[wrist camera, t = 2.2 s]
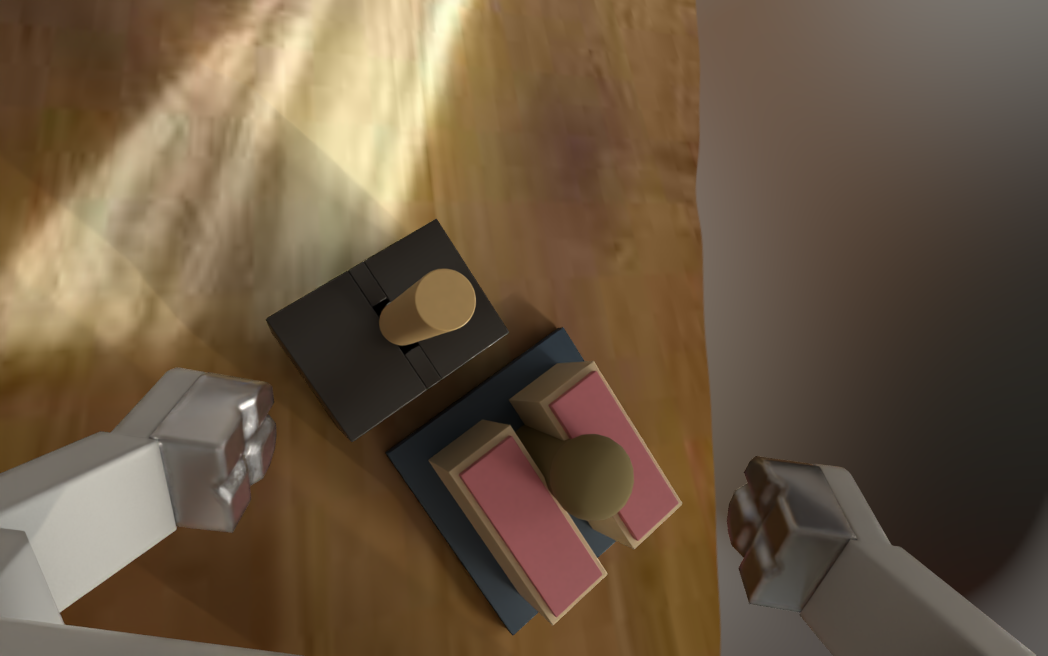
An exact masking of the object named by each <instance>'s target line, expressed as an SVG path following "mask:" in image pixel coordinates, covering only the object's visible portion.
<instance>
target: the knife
mask: <svg viewBox="0 0 1048 656" xmlns="http://www.w3.org/2000/svg"><path fill="white" fill-rule="evenodd" d="M475 306H476V296H475V292H474V289H473V287H472V285H471V283H470V282H469V280H468V279H467V278H466V277H465V276H463V275H462V274H461V273H459V272H457V271H455V270H451V269H437V270H433V271H431V272H429V273H428V274H426V275H425V276H423V277H422V278H421V279H420V280H418V281H417V282H416V283H415V284H413V285H412V286H411V287H410V288H408V289H407V290H406V291H405V292H403V293H402V294H401V295H400V296H398V297H397V298H396V299H395V300H393V301H392V302H390V303H388V304H387V305H385V306H384V307H383V308H382V309H381V310H379V311H378V312H377V315H378V316H379V318H380V319H379V326H380V330H381V333H382V334H383V336H384V337H385V338H386V339H387V340H388V341H389V342H391V343H393V344H396V345H398V346H399V348H401V347H404V346H407V345H410V344H413V343H415V342H418V341H421V340H424V339H427V338H431V337H434V336H437V335H440V334H443V333H446V332H450V331H453V330H456V329H458V328H460V327H462V326H464V325H465V324H466V323H467V322H468V321H469V320H470V318H471V317H472V315H473V313H474V310H475Z"/></svg>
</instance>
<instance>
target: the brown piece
mask: <svg viewBox="0 0 1048 656" xmlns="http://www.w3.org/2000/svg"><path fill="white" fill-rule="evenodd" d="M515 433H516V435H517V436H518V438H519V439H520V441H521V442H522V444H523V445H524V447H525V449H526V450H527V452H528V453H529V455H530V456H531V458H532V459H533V461H534V462H535V464H536V465H537V467H538V468H539V470H540V471H541V473H542V474H543V476H544V478H545V481H546V484H547V487H548V490H549V491H550V492H551V494H552V495H553V496H554V497H555V498H556V500H557V501H558V502H559V504H560V505H561V506H562V508H563V509H564V510H565V511H567V512H568V513H570V514H571V515H573V516H574V517H576V518H578V519H583V520H587V521H597V520H605V519H607V518H609V517H611V516H613V515H615V514H617V513H618V512H619V511H620V510H621V509H622V508H623V507H624V506H625V504H626V503H627V501H628V499H629V497H630V495H631V493H632V489H633V484H634V473H633V466H632V463H631V460H630V457H629V456H628V454H627V453H626V451H625V450H624V449H623V447H622V446H620V445H619V444H618V443H616V442H615V441H614V440H612V439H611V438H609V437H606V436H602V435H599V434H584V435H580V436H578V437H575V438H573V439H567V440H565V441H563V440H561V439H558V438H556V437H553V436H551V435H548V434H546V433H543V432H541V431H539V430H536V429H534V428H531V427H529V426H526V425H523V426H521V427H520V428H519V429H518V430H517V431H516V432H515Z"/></svg>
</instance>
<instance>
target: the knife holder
mask: <svg viewBox="0 0 1048 656" xmlns="http://www.w3.org/2000/svg"><path fill="white" fill-rule="evenodd" d="M437 269H451V270H455V271H457V272H459V273H461V274H462V275H463V276H465V277H466V278H467V279H468V280H469V282H470V283H471V285H472V287H473V289H474V292H475V296H476V306H475V310H474V313H473V315H472V317H471V318H470V320H469V321H468V322H467V323H466V324H465V325H464V326H462V327H460V328H458V329H456V330H453V331H450V332H446V333H443V334H440V335H437V336H434V337H431V338H427V339H424V340H421V341H418V342H415V343H413V344H410V345H407V346H404V347H401V348H399V346H398V345H396V344H393V343H391V342H389V341H388V340H387V339H386V338H385V337H384V336H383V334H382V333H381V330H380V326H379V319H380V318H379V316H378V315H377V312H378V311H379V310H381V309H382V308H383V307H384V306H385V305H387V304H388V303H390V302H392V301H393V300H395V299H396V298H397V297H398V296H400V295H401V294H402V293H403V292H405V291H406V290H407V289H408V288H410V287H411V286H412V285H413V284H415V283H416V282H417V281H418V280H420V279H421V278H422V277H423V276H425V275H426V274H428V273H429V272H431V271H433V270H437ZM266 321H267V323H268V326H269V328H270V330H271V333H272V334H273V335H274V337H275V338H276V340H277V341H278V343H279V344H280V345H281V347H282V348H283V350H284V351H285V353H286V354H287V355H288V357H289V358H290V360H291V361H292V363H293V364H294V365H295V367H296V368H297V370H298V371H299V373H300V374H301V375H302V377H303V378H304V380H305V381H306V383H307V384H308V385H309V387H310V388H311V390H312V391H313V393H314V394H315V395H316V397H317V398H318V400H319V401H320V403H321V404H322V405H323V407H324V408H325V410H326V411H327V413H328V414H329V415H330V417H331V418H332V420H333V421H334V423H335V424H336V425H337V427H338V428H339V430H340V431H341V432H342V433H343V434H344V435H345V436H346V437H347V438H348V439H349V440H350V441H351V442H353V441H355V440H356V439H358V438H359V437H361V436H362V435H363V434H365V433H366V432H368V431H369V430H371V429H372V428H373V427H375V426H376V425H378V424H379V423H381V422H382V421H383V420H385V419H386V418H388V417H389V416H391V415H392V414H393V413H395V412H396V411H398V410H399V409H401V408H402V407H403V406H405V405H406V404H408V403H409V402H411V401H412V400H413V399H415V398H416V397H418V396H419V395H421V394H422V393H423V392H425V391H426V390H427V389H429V388H431V387H432V386H434V385H435V384H436V383H438V382H439V381H441V379H444V378H445V377H446V376H448V375H449V374H451V373H452V372H454V371H455V370H456V369H458V368H459V367H461V366H462V365H464V364H465V363H466V362H468V361H469V360H471V359H472V358H474V357H475V356H476V355H478V354H479V353H481V352H482V351H484V350H485V349H486V348H488V347H489V346H491V345H492V344H494V343H495V342H496V341H498V340H499V339H501V338H502V337H504V336H505V335H506V334H508V333H509V331H508V329H507V328H506V326H505V325H504V323H503V322H502V320H501V319H500V317H499V315H498V314H497V312H496V311H495V309H494V308H493V306H492V304H491V303H490V301H489V300H488V298H487V297H486V295H485V294H484V292H483V290H482V289H481V287H480V286H479V284H478V283H477V281H476V279H475V278H474V276H473V275H472V273H471V272H470V270H469V269H468V267H467V265H466V264H465V262H464V261H463V259H462V258H461V256H460V254H459V253H458V251H457V250H456V248H455V247H454V245H453V243H452V242H451V240H450V239H449V237H448V236H447V234H446V233H445V231H444V229H443V228H442V226H441V225H440V223H439V222H438V220H437V219H435V220H433V221H431V222H430V223H428V224H426V225H425V226H423V227H421V228H419V229H418V230H416V231H414V232H413V233H411V234H409V235H407V236H406V237H404V238H402V239H401V240H399V241H397V242H396V243H394V244H392V245H390V246H389V247H387V248H385V249H384V250H382V251H380V252H378V253H377V254H375V255H373V256H372V257H370V258H368V259H367V260H365V261H364V262H361V263H360V264H358V265H356V266H355V267H353V268H351V269H350V270H349V271H346V272H344V273H343V274H341V275H339V276H338V277H336V278H334V279H333V280H331V281H329V282H327V283H326V284H324V285H322V286H321V287H319V288H317V289H316V290H314V291H312V292H310V293H309V294H307V295H305V296H304V297H302V298H300V299H298V300H297V301H295V302H293V303H292V304H290V305H288V306H287V307H285V308H283V309H281V310H280V311H278V312H276V313H275V314H273V315H271V316H270V317H268V318H267V319H266Z"/></svg>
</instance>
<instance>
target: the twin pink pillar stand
mask: <svg viewBox="0 0 1048 656" xmlns="http://www.w3.org/2000/svg"><path fill="white" fill-rule="evenodd" d="M523 425H526V426H529V427H531V428H534V429H536V430H539V431H541V432H543V433H546V434H548V435H551V436H553V437H556V438H558V439H561V440H563V441H565V440H567V439H573V438H575V437H578V436H580V435H584V434H599V435H602V436H606V437H609V438H611V439H612V440H614V441H615V442H616V443H618V444H619V445H620V446H622V447H623V449H624V450H625V451H626V453H627V454H628V456H629V457H630V460H631V463H632V466H633V473H634V484H633V489H632V493H631V495H630V497H629V499H628V501H627V503H626V504H625V506H624V507H623V508H622V509H621V510H620V511H619V512H618V513H617V514H615V515H613V516H611V517H609V518H607V519H605V520H597V521H587V520H583V519H578V518H576V517H574V516H573V515H571V514H570V513H568V512H567V511H565V510H564V509H563V508H562V506H561V505H560V504H559V502H558V501H557V500H556V498H555V497H554V496H553V495H552V494H551V492H550V491H549V490H548V487H547V484H546V481H545V478H544V476H543V474H542V473H541V471H540V470H539V468H538V467H537V465H536V464H535V462H534V461H533V459H532V458H531V456H530V455H529V453H528V452H527V450H526V449H525V447H524V445H523V444H522V442H521V441H520V439H519V438H518V436H517V435H516V433H515V432H516V431H517V430H518V429H519V428H520V427H521V426H523ZM386 455H387V456H388V457H389V459H390V460H391V462H392V463H393V465H394V466H395V468H396V469H397V470H398V472H399V473H400V475H401V476H402V478H403V479H404V481H405V482H406V483H407V485H408V486H409V488H410V489H411V491H412V492H413V494H414V495H415V496H416V498H417V499H418V501H419V502H420V504H421V505H422V507H423V508H424V509H425V511H426V512H427V514H428V515H429V517H430V518H431V520H432V521H433V522H434V524H435V525H436V527H437V528H438V530H439V531H440V533H441V534H442V535H443V537H444V538H445V540H446V541H447V543H448V544H449V546H450V547H451V548H452V550H453V551H454V553H455V554H456V556H457V557H458V559H459V560H460V561H461V563H462V564H463V566H464V567H465V569H466V570H467V572H468V573H469V574H470V576H471V577H472V579H473V580H474V582H475V583H476V585H477V586H478V587H479V589H480V590H481V592H482V593H483V595H484V596H485V598H486V599H487V600H488V602H489V603H490V605H491V606H492V608H493V609H494V611H495V612H496V613H497V615H498V616H499V618H500V619H501V621H502V622H503V624H504V625H505V626H506V628H507V629H508V631H509V632H510V633H511V634H512V635H514V634H515V633H516V632H518V631H519V630H520V629H521V628H522V627H523V626H524V625H525V624H526V623H527V622H528V621H529V620H531V619H532V618H533V617H534V616H535V615H536V614H537V613H538V612H539V613H540V614H541V615H542V616H543V617H544V618H545V619H546V620H547V621H548V622H550V623H551V624H552V625H554V624H555V623H556V622H557V621H558V620H559V619H560V618H561V617H562V616H563V615H565V614H566V613H567V612H568V611H569V610H570V609H571V608H572V607H573V606H574V605H575V604H576V603H577V602H578V601H579V600H580V599H582V598H583V597H584V596H585V595H586V594H587V593H588V592H589V591H590V590H591V589H592V588H593V587H594V586H595V585H596V584H598V583H599V582H600V581H601V580H602V579H603V578H604V577H605V576H606V575H607V572H606V571H605V569H604V568H603V566H602V565H601V563H600V562H599V560H598V557H599V556H600V555H601V554H602V553H603V552H605V551H606V550H607V549H608V548H609V547H610V546H611V545H612V544H613V543H614V542H615V541H618V542H620V543H622V544H624V545H626V546H628V547H630V548H632V549H635V548H636V547H637V546H638V545H639V544H640V543H641V542H642V541H644V540H645V539H646V538H647V537H648V536H649V535H650V534H651V533H652V532H653V531H654V530H655V529H656V528H657V527H658V526H660V525H661V524H662V523H663V522H664V521H665V520H666V519H667V518H668V517H669V516H670V515H671V514H672V513H673V512H674V511H675V510H677V509H678V508H679V507H680V506H681V505H682V502H681V501H680V499H679V497H678V496H677V494H676V492H675V491H674V489H673V488H672V486H671V484H670V483H669V481H668V480H667V478H666V476H665V475H664V473H663V472H662V470H661V468H660V467H659V465H658V464H657V462H656V460H655V459H654V457H653V456H652V454H651V452H650V451H649V449H648V448H647V446H646V444H645V443H644V441H643V440H642V438H641V436H640V435H639V433H638V431H637V430H636V428H635V427H634V425H633V423H632V422H631V420H630V419H629V417H628V415H627V414H626V412H625V411H624V409H623V407H622V406H621V404H620V403H619V401H618V399H617V398H616V396H615V395H614V393H613V391H612V390H611V388H610V387H609V385H608V383H607V382H606V380H605V378H604V377H603V375H602V374H601V372H600V370H599V369H598V367H597V366H596V364H595V362H594V361H584V360H583V358H582V357H581V355H580V353H579V352H578V350H577V349H576V347H575V345H574V344H573V342H572V341H571V339H570V337H569V336H568V334H567V333H566V331H565V329H564V328H563V327H562V328H557V329H556V330H555V331H553V332H552V333H551V334H549V335H548V336H546V337H545V338H544V339H542V340H541V341H539V342H538V343H537V344H535V345H534V346H532V347H531V348H530V349H528V350H527V351H526V352H524V353H523V354H521V355H520V356H519V357H517V358H516V359H514V360H513V361H512V362H510V363H509V364H508V365H506V366H505V367H503V368H502V369H501V370H499V371H498V372H496V373H495V374H494V375H492V376H491V377H490V378H488V379H487V380H485V381H484V382H483V383H481V384H480V385H478V386H477V387H476V388H474V389H473V390H471V391H470V392H469V393H467V394H466V395H465V396H463V397H462V398H460V399H459V400H458V401H456V402H455V403H453V404H452V405H451V406H449V407H448V408H447V409H445V410H444V411H442V412H441V413H440V414H438V415H437V416H435V417H434V418H433V419H431V420H430V421H429V422H427V423H426V424H424V425H423V426H422V427H420V428H419V429H417V430H416V431H415V432H413V433H412V434H410V435H409V436H408V437H406V438H405V439H404V440H402V441H401V442H399V443H398V444H397V445H395V446H394V447H392V448H391V449H390V450H388V451H387V452H386Z"/></svg>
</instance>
